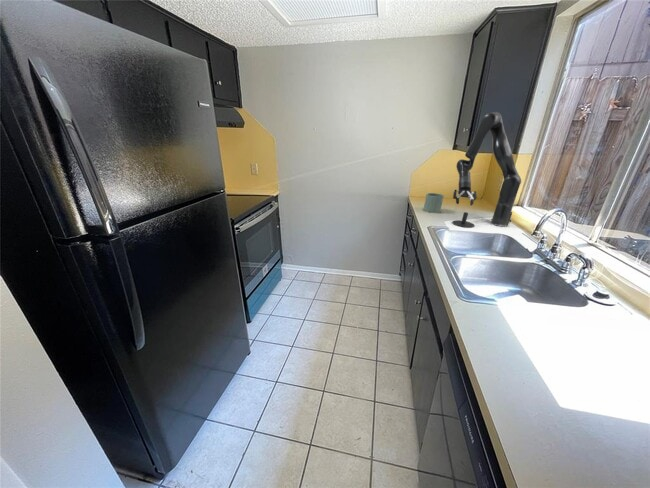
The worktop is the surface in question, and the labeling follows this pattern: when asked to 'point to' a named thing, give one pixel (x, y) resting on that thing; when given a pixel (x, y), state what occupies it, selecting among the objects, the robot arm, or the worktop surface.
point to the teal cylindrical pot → (433, 202)
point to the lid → (463, 222)
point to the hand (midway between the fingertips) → (464, 204)
